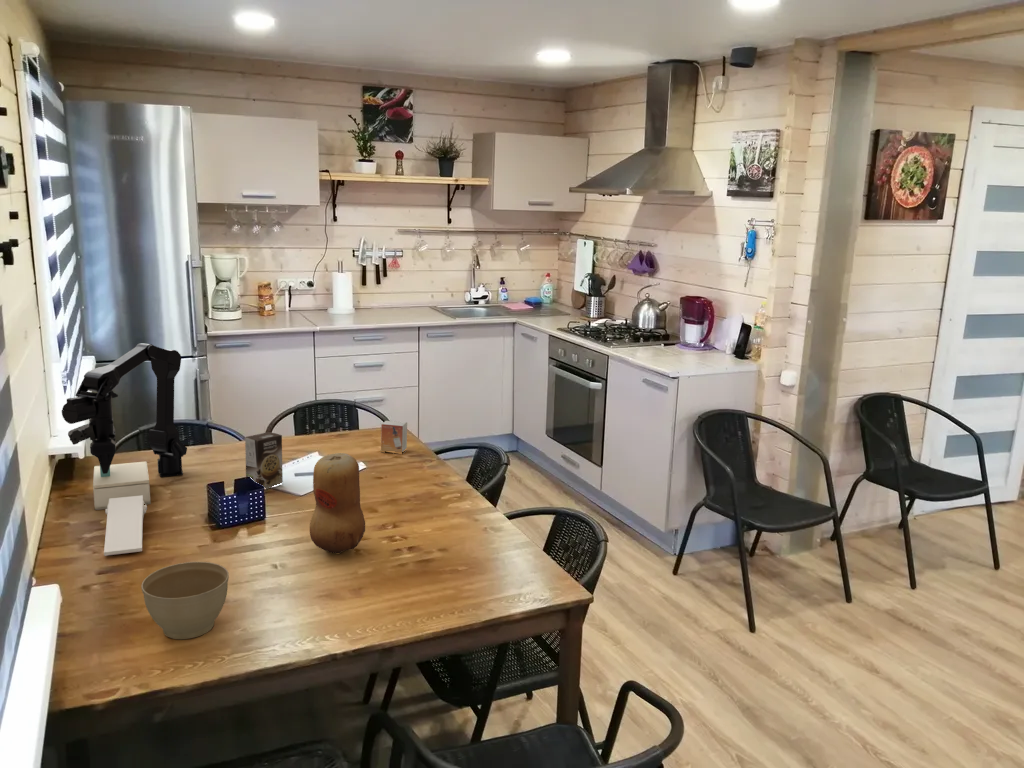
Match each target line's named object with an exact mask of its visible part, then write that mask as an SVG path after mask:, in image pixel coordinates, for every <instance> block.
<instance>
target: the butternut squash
mask: <svg viewBox="0 0 1024 768" xmlns="http://www.w3.org/2000/svg"><path fill="white" fill-rule="evenodd" d="M312 476H313V477H312V481H313V482H312V483H313V484H312V485H313V487H312V488H313V495H314V496H313V497H314V500H315V508H314V510H313V513H312V514H311V519H310V522H309V535H310V539H311V541H312V543H314V545H315V546H316V547H318V548H320V549H321V550H323V551H325V552H328V553H332V554H336V553H340V554H342V552H345V551H349V550H354V549H355V548H356V547H357V546H358V545H359V544H360V542H361V541H362V539H363V537H364V534H365V532H366V520H365V515H364V512H363V510H362V508H361V489H360V488H361V487H360V465H359V462H358V461H357V459H356V458H355V457H353V455H350V454H348V453H344V452H343V453H342V452H337V453H331V454H327V455H325V456H322V457H321V458H320V459H318V460H317V462H316V463H315V464H314V468H313V475H312Z"/></svg>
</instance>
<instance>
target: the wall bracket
mask: <svg viewBox="0 0 1024 768" xmlns="http://www.w3.org/2000/svg"><path fill="white" fill-rule="evenodd" d="M147 505H148V504H145V505H144V501H143V495H141V496H131V497H121V498H110V499H109V504H108V508H107V509H104V510H105V512H104V513H105V515H107V516H106V527H105V539H104V546H103V547H104V548H103V556H113V555H114V556H115V555H121V554H129V553H137V552H143V523H144V517H145V514H147V510H148V506H147Z"/></svg>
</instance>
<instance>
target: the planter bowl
mask: <svg viewBox="0 0 1024 768" xmlns="http://www.w3.org/2000/svg"><path fill="white" fill-rule="evenodd" d="M229 575H230V574H229V570H228V569H227V568H226V567H224V566H223V565H220V564H218V563H215V562H210V561H208V562H207V561H188V562H187V561H186V562H182V563H181V562H179V563H176V564H171V565H168V566H164V567H161V568H159V569H157V570H155V571H154V572H152V573H150V574H149V575H147V577H145V578H144V579H143V581H142V583H141V593H142V594H143V598H144V599H143V600H144V604H145V607H146V610H147V611H148V613H149V615H150V617H151V618H152V620H153V621H154V623H155V624H157V625H156V626H158V627H160V628H161V629H162V632H163V634H164V635H165V636H166V637H168V638H170V639H174V640H188V639H194V638H197V637H200V636H202V635H204V634H207V633H208V632H209V631H211V630H212V629H213V627H214V626H215V621H216V619H217V618H218V616H219V614H220V613H221V612H222V609H223V607H224V605H225V602H226V598H227V595H228V587H229V586H228V585H229V584H228V583H229V578H230V577H229Z"/></svg>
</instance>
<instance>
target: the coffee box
mask: <svg viewBox="0 0 1024 768" xmlns="http://www.w3.org/2000/svg"><path fill="white" fill-rule="evenodd" d="M282 437H283V435H282V434H280V433H279V434H278V433H275V432H271V431H266V432H263V433H258V434H252V435H248V436H245V437H244V440H245V445H244V446H245V478H246V477H251V478H252V479H253V480H254V481H255V482H257V483H259V484H261V485H263V486H264V487H265V488H266V489H268V488H269V487H272V486H274V485H277V484H280V483H282V482H284V481H283V438H282ZM268 490H269V489H268Z"/></svg>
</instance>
